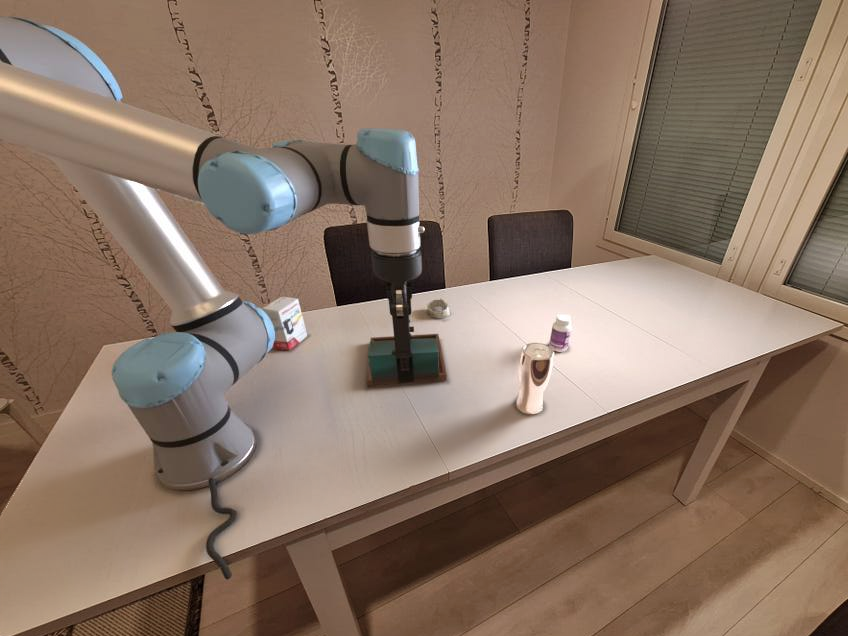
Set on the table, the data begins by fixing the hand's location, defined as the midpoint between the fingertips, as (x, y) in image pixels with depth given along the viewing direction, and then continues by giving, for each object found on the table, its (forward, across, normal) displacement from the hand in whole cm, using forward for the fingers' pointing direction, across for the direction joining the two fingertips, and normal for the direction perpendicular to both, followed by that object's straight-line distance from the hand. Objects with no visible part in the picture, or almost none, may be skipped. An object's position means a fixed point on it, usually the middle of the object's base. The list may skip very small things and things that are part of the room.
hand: (405, 372), depth 69 cm
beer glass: (+15, +4, -27) cm, 31 cm away
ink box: (+15, +37, +32) cm, 51 cm away
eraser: (0, 0, 0) cm, 0 cm away
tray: (+14, +24, 0) cm, 28 cm away
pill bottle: (+15, +27, -43) cm, 52 cm away
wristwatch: (+15, +50, -10) cm, 53 cm away
